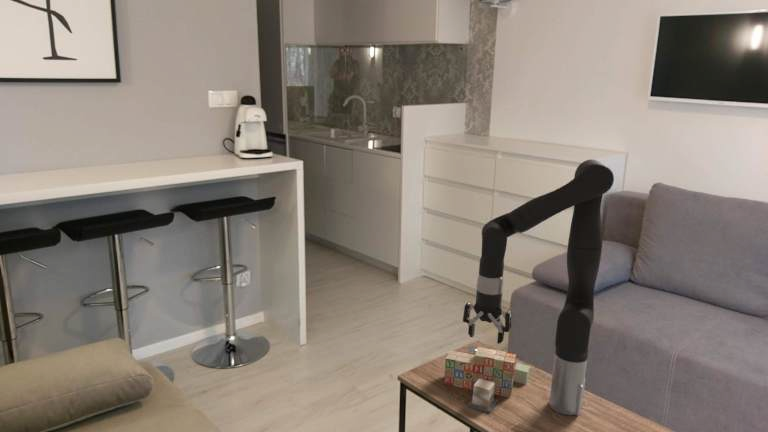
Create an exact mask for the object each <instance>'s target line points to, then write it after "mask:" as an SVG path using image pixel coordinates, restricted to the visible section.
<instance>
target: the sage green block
mask: <svg viewBox="0 0 768 432" xmlns="http://www.w3.org/2000/svg"><path fill="white" fill-rule="evenodd" d="M531 367H532V366H530V365H527V364H523V363H520V362H519V363H518V362H517V363H515V371H514V379H513V382H515V383H518V384H523V385H525V386H526V385H527V384H528V382H529V380H530V377H531V370H532V369H531Z"/></svg>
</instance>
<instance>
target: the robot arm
mask: <svg viewBox="0 0 768 432" xmlns="http://www.w3.org/2000/svg"><path fill="white" fill-rule="evenodd" d="M614 176H615V175H614V173H613V171H612V170H611V168H610V167H609V166H608V165H606V164H604V163H603V162H601V161H600V160H597V159H587V160H584V161H583V162H581V163H580V164H579V165H578V166H577V168H576V170H575V171H574V177H573V179H571V180H570V181H568V182H567V183H566V184H564V185H562V186H560V187H558V188H557V189H555V190H552V191H550V192H547V193H544V194H541V195H539V196H536V197H535V198H532V199H531V200H527V202H525V203H523V204H521V205H520V206H518V207H516V208H515V209H513V210H512V211H510V212H508V213H505V214H502V215H499V216H497V217H495V218H493V219H491V220H490V221H488V222H487V223H486V224H484V225H483V227H482V228H481V256H480V259H479V267H478V276H477V281H476V292H475V293H476V294H475V304H474V303H472V302H471V301H467V302H466V303H465V305H464V308H463V317H462V322H463V323H467V325H468V329H467V330H468V332H467V334H468V336H469V337H470V338H473V337H474V336H475V333H476V332H475V331H476V329H475V327H476V324H475V322H477V321H478V320H480V321H481V322H487V323H490V324H493V325H494V327H495V328H496V329H497V339H496V340H497V343H496V344H499V345H500V344H501V343H502V342H503V341H504V339H505V333H509V332H510V330H512V310H503V309H502V302H503V292H504V291H503V290H504V289H503V288H504V270H505V268H504V267H505V255H506V251H507V244H508V238H509V237H511V236H513V235H515V234H517V233H518V234H523V233H525V232H528V231H529V230H531V229H533V228H534V227H536V226H538V225H540V224H541V223H544V222H545V221H547V220H548V219H550V218H552V217H554V216H555V215H558V214H560V213H562V212H563V211H566V210H567V209H570V208H572V207H573V212H572V217H571V222H570V229H569V235H568V242H567V251H566V270H567V279H568V285H567V286H568V287H567V291H566V292H567V293H566V296H565V301H564V304H563V308H562V309H561V312H560V313H559V315H558V318H557V322H556V323H557V324H556V330H555V331H556V332H555V340H554V344H555V345H554V347H555V350H554V359H553V365H552V366H553V367H552V375H551V383H550V390H549V391H550V393H549V398H548V399H549V400H548V406H549V407H550V409H551V410H553V411H554V412H556V413H558V414H560V415H567V416H579V414H580V412H581V410H582V407H583V400H584V393H585V386H586V371H587V365H588V364H587V363H588V357H589V356H588V355H589V344H590V343H589V342H590V334H591V328H592V326H593V323H594V319H595V318H594V317H595V316H594V313H595V311H594V308H595V307H594V305H595V304H594V303H595V302H594V299H595V297H594V295H595V285H596V282H597V278H598V275H599V270H600V269H599V268H600V265H601V259H602V249H603V226H602V217H601V216H602V215H601V209H602V200H603V196H604V194H606V193H608V192H609V191H610V190H611V188H612V186H613V185H614V181H615V177H614ZM471 311H474V312H475V313H476V314H475V316H473V317H472V318H471V317H470V316H471V315H470V314H471ZM501 315H502V317H503V318H504V321H505V322H504V323H503V321H502V318H501Z"/></svg>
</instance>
